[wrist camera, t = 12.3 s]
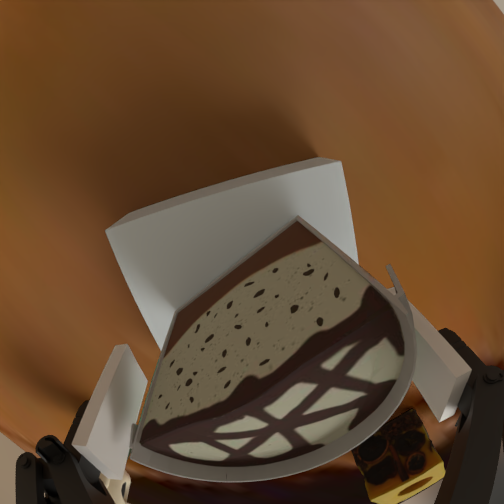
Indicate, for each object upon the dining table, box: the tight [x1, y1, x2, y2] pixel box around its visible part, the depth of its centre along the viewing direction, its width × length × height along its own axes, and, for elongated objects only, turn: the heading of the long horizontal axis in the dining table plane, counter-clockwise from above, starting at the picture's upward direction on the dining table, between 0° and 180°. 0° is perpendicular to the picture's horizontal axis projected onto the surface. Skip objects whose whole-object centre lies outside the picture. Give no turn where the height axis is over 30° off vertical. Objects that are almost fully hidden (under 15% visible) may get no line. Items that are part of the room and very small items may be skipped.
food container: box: [129, 215, 417, 482], centre depth 13 cm, size 12×6×10 cm, turn 130°
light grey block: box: [105, 157, 359, 351], centre depth 20 cm, size 14×14×5 cm
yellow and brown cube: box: [351, 409, 445, 504], centre depth 28 cm, size 10×10×10 cm
